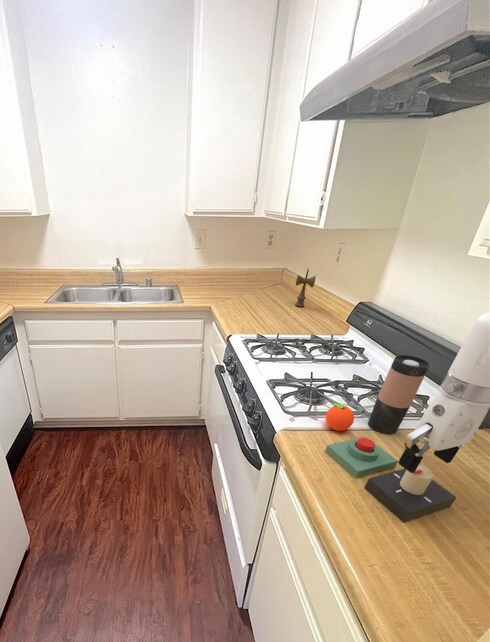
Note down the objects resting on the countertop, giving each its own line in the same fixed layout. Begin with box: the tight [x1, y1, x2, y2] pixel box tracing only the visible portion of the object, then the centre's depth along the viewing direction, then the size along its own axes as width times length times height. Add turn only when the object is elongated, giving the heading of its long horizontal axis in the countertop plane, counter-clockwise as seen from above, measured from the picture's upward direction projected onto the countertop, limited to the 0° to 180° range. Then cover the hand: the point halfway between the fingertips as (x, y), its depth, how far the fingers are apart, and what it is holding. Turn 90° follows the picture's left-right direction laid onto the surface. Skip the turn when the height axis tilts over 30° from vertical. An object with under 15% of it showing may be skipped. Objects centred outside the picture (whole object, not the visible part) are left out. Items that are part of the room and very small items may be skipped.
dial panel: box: [363, 468, 457, 523], centre depth 73 cm, size 13×10×3 cm
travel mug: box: [367, 354, 430, 435], centre depth 90 cm, size 8×8×20 cm
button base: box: [324, 436, 399, 479], centre depth 83 cm, size 12×10×4 cm
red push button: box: [356, 437, 376, 453], centre depth 81 cm, size 4×4×2 cm
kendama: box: [294, 268, 317, 308], centre depth 191 cm, size 6×10×20 cm, turn 71°
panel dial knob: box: [400, 464, 434, 495], centre depth 71 cm, size 4×4×5 cm
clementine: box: [325, 403, 355, 432], centre depth 93 cm, size 8×7×7 cm
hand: (423, 463), depth 68 cm, fingers open, 9 cm apart
